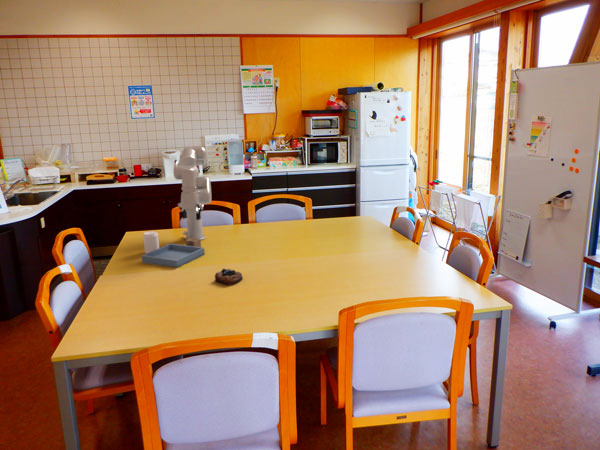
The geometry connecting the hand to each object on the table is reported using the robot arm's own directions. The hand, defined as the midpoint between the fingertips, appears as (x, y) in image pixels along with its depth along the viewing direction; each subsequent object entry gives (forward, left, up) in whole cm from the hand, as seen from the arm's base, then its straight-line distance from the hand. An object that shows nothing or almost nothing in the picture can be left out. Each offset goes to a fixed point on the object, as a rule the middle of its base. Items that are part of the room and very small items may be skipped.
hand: (191, 218), depth 276 cm
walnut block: (0, 0, -19) cm, 19 cm away
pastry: (+47, -35, -19) cm, 62 cm away
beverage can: (-19, -14, -19) cm, 30 cm away
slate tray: (0, -18, -19) cm, 26 cm away
